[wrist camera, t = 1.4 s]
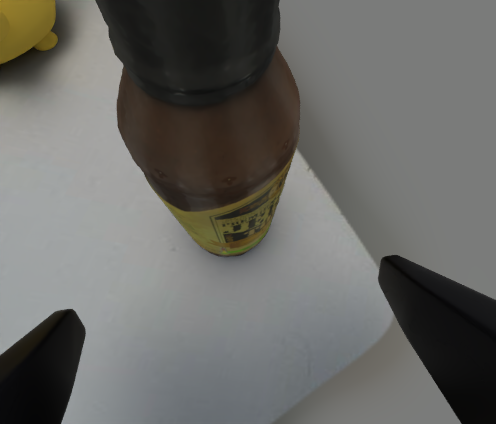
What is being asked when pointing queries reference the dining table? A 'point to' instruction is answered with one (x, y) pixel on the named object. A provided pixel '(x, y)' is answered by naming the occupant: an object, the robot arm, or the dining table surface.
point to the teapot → (26, 27)
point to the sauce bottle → (207, 111)
